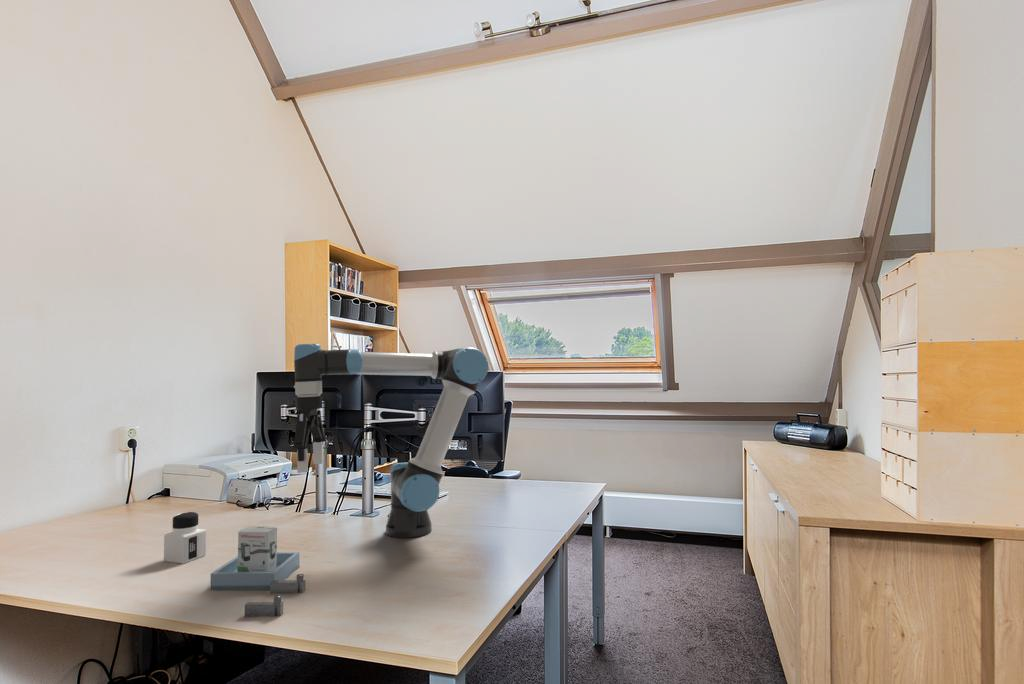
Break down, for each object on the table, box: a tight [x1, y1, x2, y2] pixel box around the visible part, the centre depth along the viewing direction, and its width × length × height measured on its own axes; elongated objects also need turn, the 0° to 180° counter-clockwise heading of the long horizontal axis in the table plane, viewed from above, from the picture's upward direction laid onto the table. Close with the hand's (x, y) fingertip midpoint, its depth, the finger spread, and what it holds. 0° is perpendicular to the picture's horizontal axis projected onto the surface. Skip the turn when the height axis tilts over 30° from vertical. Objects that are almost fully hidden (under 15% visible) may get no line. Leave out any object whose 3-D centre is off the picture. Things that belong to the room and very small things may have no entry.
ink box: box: [237, 525, 278, 572], centre depth 147 cm, size 9×5×12 cm, turn 83°
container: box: [163, 511, 207, 565], centre depth 164 cm, size 8×8×13 cm
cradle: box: [243, 573, 306, 617], centre depth 131 cm, size 8×15×4 cm, turn 179°
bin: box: [210, 551, 300, 591], centre depth 147 cm, size 16×16×4 cm
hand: (310, 467), depth 165 cm, fingers open, 13 cm apart
